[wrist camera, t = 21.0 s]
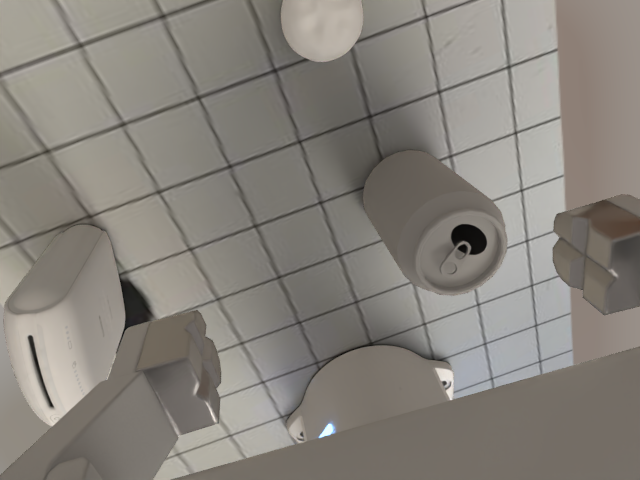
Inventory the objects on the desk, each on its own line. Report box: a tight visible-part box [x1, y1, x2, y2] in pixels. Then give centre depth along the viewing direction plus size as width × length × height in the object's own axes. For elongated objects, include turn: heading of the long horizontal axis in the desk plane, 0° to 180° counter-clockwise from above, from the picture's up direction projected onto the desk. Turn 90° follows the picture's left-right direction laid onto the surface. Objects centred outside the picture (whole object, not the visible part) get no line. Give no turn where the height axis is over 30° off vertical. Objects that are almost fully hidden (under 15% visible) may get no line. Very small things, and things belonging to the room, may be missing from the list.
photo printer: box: [3, 225, 125, 427], centre depth 33 cm, size 10×4×12 cm, turn 178°
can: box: [363, 150, 507, 296], centre depth 34 cm, size 8×8×12 cm
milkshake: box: [281, 0, 363, 62], centre depth 27 cm, size 4×5×10 cm
